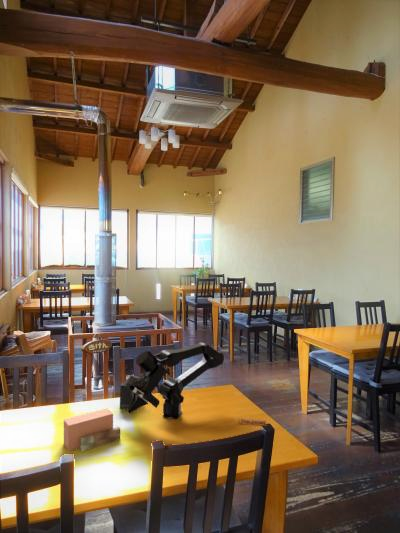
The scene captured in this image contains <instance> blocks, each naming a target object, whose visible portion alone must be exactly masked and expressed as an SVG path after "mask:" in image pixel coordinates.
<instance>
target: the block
mask: <svg viewBox="0 0 400 533" xmlns="http://www.w3.org/2000/svg"><path fill="white" fill-rule="evenodd" d="M113 428H114V413H113V412H112V411H111V410H110V409H108V408H103V409H100V410H95V411H92V412H89V413H88V412H87V413H83V414H80V415H77V416H76V415H75V416H72V417H71V416H70V417H68V418H65V419H63V445H64V446H65V448H66V450H67V451H68V452H70V451H74V450H78V449H80V438H82V437H85V436H89V435H92V434H96V433H99V432H102V431H106V430H109V429H113Z"/></svg>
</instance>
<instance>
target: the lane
mask: <svg viewBox="0 0 400 533" xmlns="http://www.w3.org/2000/svg"><path fill="white" fill-rule="evenodd" d="M118 440H119V441H120V440H121V428H120V427H119V426H116V427H113V429H109V430H106V431H102V432H99V433H96V434H92V435H89V436H85V437H82V438H80V448H79V449H80V450H81V452H84V451H87V450H90V449H94V448H97V447H100V446H102V445H105V444H109V443H112V442H116V441H118Z"/></svg>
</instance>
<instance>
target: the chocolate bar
mask: <svg viewBox="0 0 400 533" xmlns="http://www.w3.org/2000/svg"><path fill="white" fill-rule="evenodd" d="M239 423H243V424H244V425H253V424H254V426H255V425H256V426H263V425H262V424H267V425H268V420H267V419H260V418H259V419H256V418H245V417H244V418H243V417H236V424H239ZM243 424H242V425H243Z"/></svg>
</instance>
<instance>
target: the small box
mask: <svg viewBox="0 0 400 533" xmlns="http://www.w3.org/2000/svg"><path fill="white" fill-rule="evenodd" d="M128 380H129V377H128V378H127V379H126V380H124V381H123V382H122V383H121V384H120V385H119V409H123V410H128V408H129V405H130V402H131V399H132V393H131V391H132V390H131V389H130V388H129V387H127V386H126V384H127V382H128Z"/></svg>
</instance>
